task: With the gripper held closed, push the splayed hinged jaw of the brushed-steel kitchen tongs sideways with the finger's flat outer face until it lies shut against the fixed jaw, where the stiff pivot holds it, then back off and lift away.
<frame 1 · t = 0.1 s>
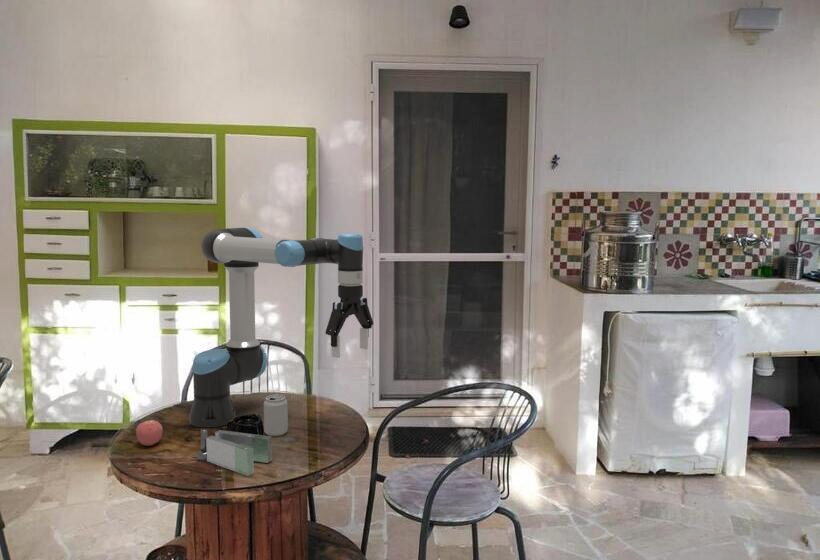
hand: (350, 352, 190), 28 cm above the table, fingers open, 13 cm apart
apple: (149, 445, 187), on the table
can: (275, 433, 198), on the table
tong jaw: (243, 446, 177), point 4 cm above the table, hinge at 18.0°
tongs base: (204, 458, 178), on the table
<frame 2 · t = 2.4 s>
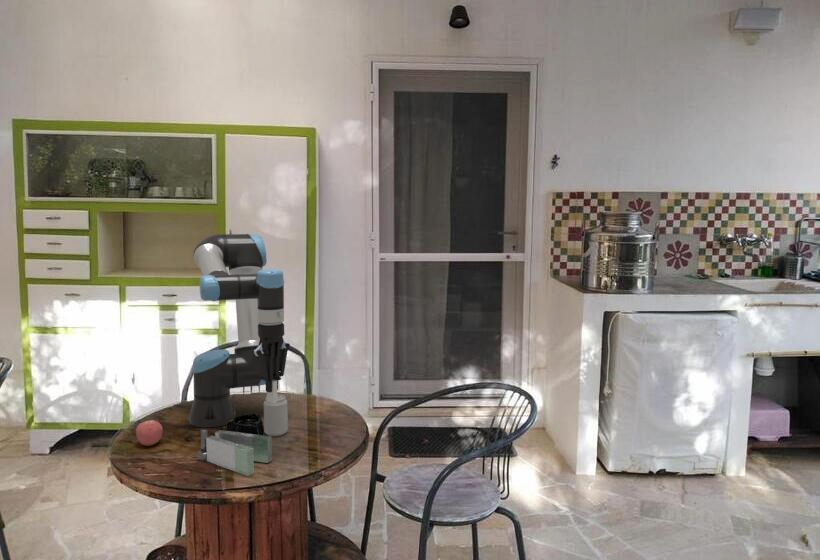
hand: (272, 401, 181), 15 cm above the table, fingers closed
nothing on the table moved.
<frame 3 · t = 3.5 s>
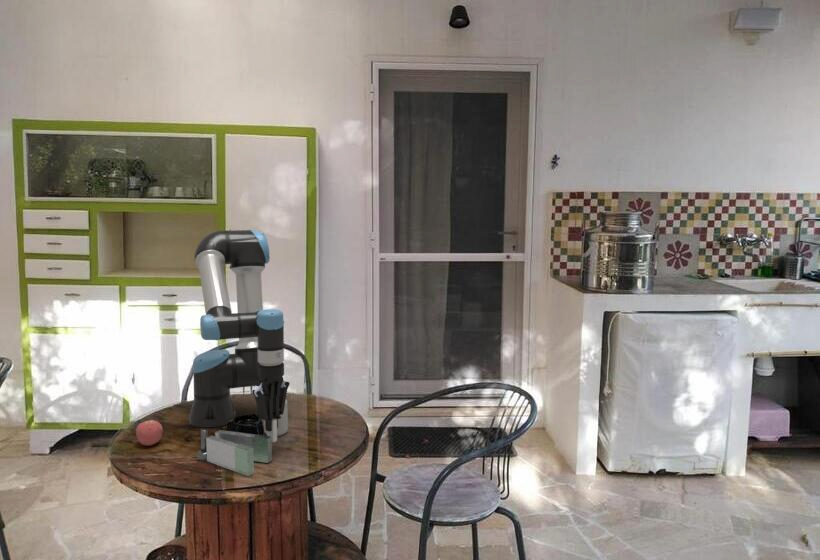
hand: (272, 440, 183), 3 cm above the table, fingers closed
nothing on the table moved.
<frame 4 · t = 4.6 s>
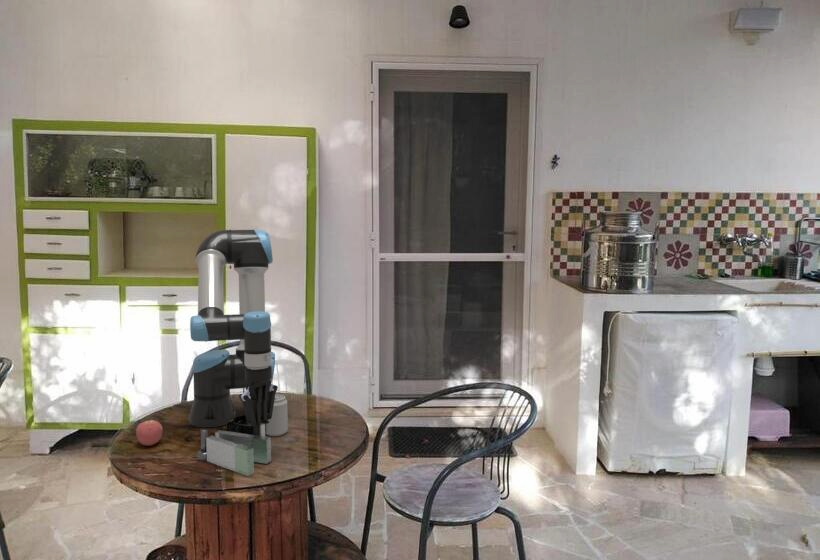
hand: (260, 445, 179), 4 cm above the table, fingers closed
tong jaw: (242, 446, 177), point 4 cm above the table, hinge at 16.0°, touching gripper
everything else where it was.
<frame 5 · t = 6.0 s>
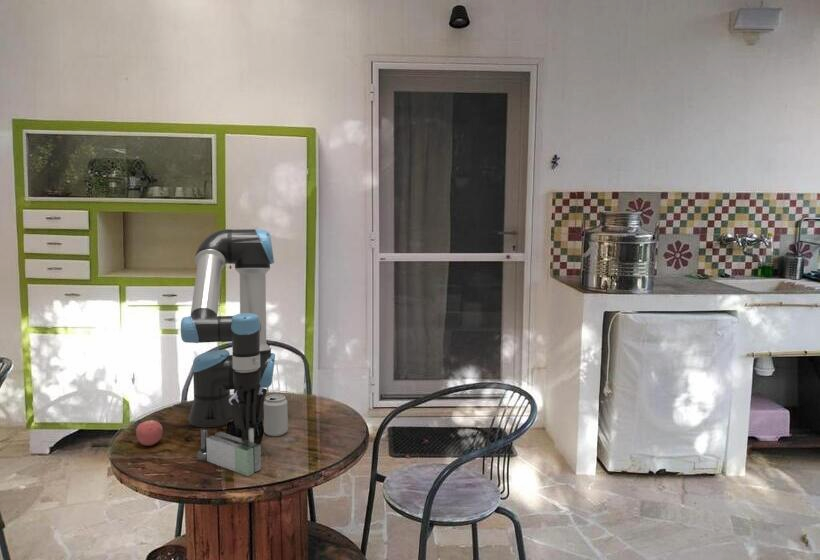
hand: (248, 450, 175), 4 cm above the table, fingers closed
tong jaw: (237, 451, 173), point 4 cm above the table, hinge at -1.4°, touching gripper
everything else where it was.
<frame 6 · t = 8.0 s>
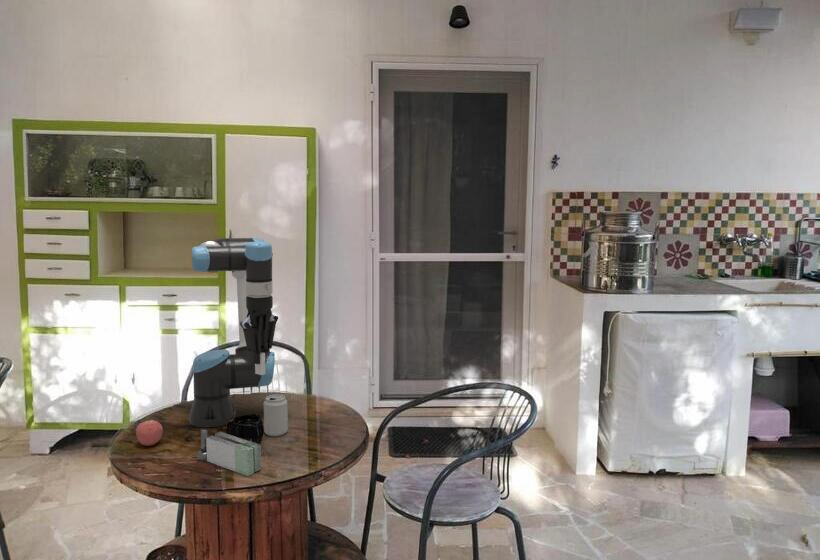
hand: (260, 373, 182), 23 cm above the table, fingers closed
tong jaw: (237, 451, 173), point 4 cm above the table, hinge at -1.5°
everything else where it was.
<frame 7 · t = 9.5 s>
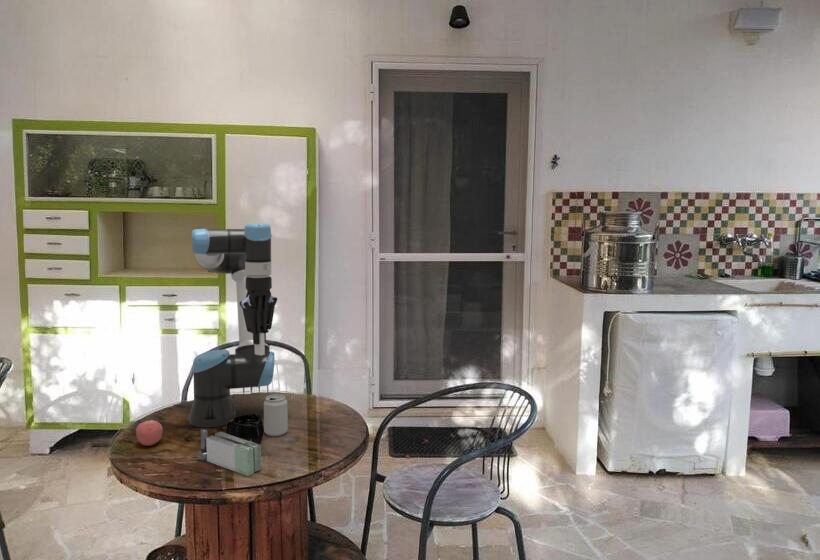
hand: (259, 354, 184), 28 cm above the table, fingers closed
nothing on the table moved.
at the end: tong jaw at -2° (first picture: +18°); the gripper is holding nothing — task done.
